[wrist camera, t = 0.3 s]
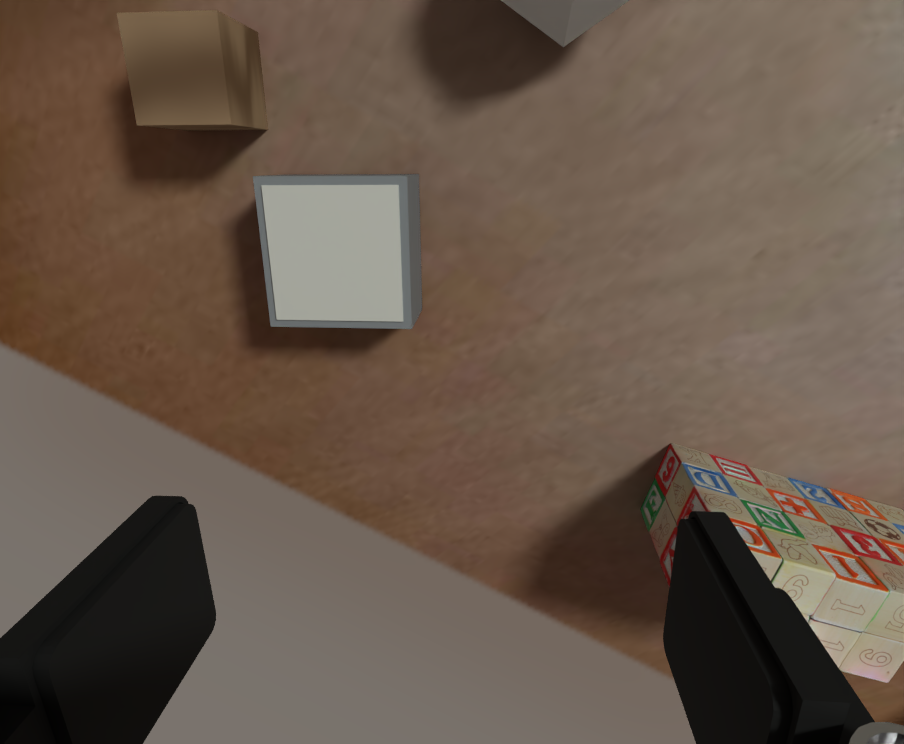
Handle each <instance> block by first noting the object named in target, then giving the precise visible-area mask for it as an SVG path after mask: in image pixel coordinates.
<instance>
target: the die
mask: <svg viewBox="0 0 904 744" xmlns="http://www.w3.org/2000/svg"><path fill="white" fill-rule="evenodd" d="M501 1H502V2H504V3H505V4H506V5H508V6H509V7H510V8H512V9H513V10H514V11H516V12H517V13H518V14H520V15H521V16H522V17H524V18H525V19H526V20H528V21H529V22H530V23H532V24H533V25H534V26H536V27H537V28H538V29H540V30H541V31H542V32H544V33H545V34H546V35H548V36H549V37H550V38H552V39H553V40H554V41H556V42H557V43H558V44H560V45H561V46H562V47H565V46H566V45H567V44H569V43H570V42H572V41H573V40H574V39H576V38H577V37H579V36H580V35H581V34H583V33H584V32H586V31H587V30H588V29H590V28H591V27H593V26H594V25H595V24H597V23H598V22H600V21H601V20H602V19H604V18H605V17H607V16H608V15H609V14H611V13H612V12H614V11H615V10H617V9H618V8H619V7H621V6H622V5H624V4H625V3H626V2H628V1H629V0H501Z"/></svg>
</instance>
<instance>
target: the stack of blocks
mask: <svg viewBox="0 0 904 744" xmlns="http://www.w3.org/2000/svg"><path fill="white" fill-rule="evenodd" d="M640 510H641V513H642V516H643V519H644V522H645V524H646V527H647V529H648V532H649V533H650V535H651V538H652V541H653V544H654V546H655V549H656V552H657V554H658V557H659V558H660V564H661V567H662V570H663V572H664V574H665V578H666V580H667V583H668V586H669V588H670V580H671V573H672V566H673V558H674V551H675V543H676V536H677V529H678V523H679V521H680V519H688V516H689V514H690V512H692V511H708V512H724V513H726V514H727V515H728V517H729V518H730V520H731V521H732V523H733V524H734V526H735V527H736V529H737V530H738V532H739V534H740V535H741V537H742V538H743V540H744V541H745V543H746V544H747V546H748V547H749V549H750V550H751V552H752V553H753V555H754V556H755V558H756V559H757V561H758V563H759V564H760V566H761V567H762V569H763V570H764V572H765V573H766V575H767V576H768V578H769V579H770V581H771V582H772V584H773V585H774V587H775V588H780V589H782V590H784V591H785V592H786V593H787V594H788V595H789V596H790V597H791V599H792V600H793V602H794V603H795V605H796V606H797V607H798V609H799V610H800V612H801V613H802V615H803V616H804V618H805V619H806V621H807V622H808V624H809V625H810V627H811V628H812V630H813V631H814V633H815V634H816V636H817V637H818V639H819V640H820V641H821V643H822V644H823V646H824V647H825V649H826V650H827V652H828V653H829V655H830V656H831V658H832V659H833V661H834V662H835V664H836V665H837V667H838V668H839V670H841V671H843V672H847V673H851V674H855V675H859V676H862V677H866V678H870V679H874V680H878V681H882V682H887V683H888V682H889V681H890V679H891V678H892V677H893V675H894V674H895V672H896V671H897V670H898V668H899V667H900V665H901V664H902V662H903V661H904V511H903V510H902V509H899V508H895V507H892V506H888V505H885V504H881V503H878V502H874V501H871V500H865V499H863V498H860V497H857V496H854V495H850V494H847V493H844V492H840V491H837V490H833V489H830V488H823V487H819V486H816V485H812V484H809V483H805V482H802V481H798V480H795V479H791V478H785V477H783V476H780V475H776V474H773V473H769V472H766V471H762V470H759V469H755V468H752V467H748V466H747V465H745V464H741V463H738V462H734V461H731V460H727V459H724V458H721V457H717V456H713V455H710V454H707V453H704V452H701V451H697V450H694V449H691V448H687V447H684V446H680V445H677V444H673V443H671V444H670V445H669V447H668V449H667V451H666V454H665V456H664V458H663V460H662V462H661V464H660V467H659V469H658V471H657V473H656V475H655V479H654V481H653V483H652V486H651V488H650V490H649V492H648V494H647V496H646V498H645V501H644V503H643V505H642V507H641V509H640Z"/></svg>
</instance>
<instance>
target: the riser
mask: <svg viewBox="0 0 904 744" xmlns="http://www.w3.org/2000/svg"><path fill="white" fill-rule="evenodd" d="M253 181H254V190H255V198H256V207H257V215H258V223H259V232H260V240H261V249H262V257H263V266H264V274H265V283H266V291H267V300H268V308H269V317H270V325H271V327H323V328H385V329H412V328H413V326H414V324H415V322H416V320H417V318H418V316H419V315H420V313H421V311H422V284H421V242H420V201H419V174H326V175H267V176H253Z"/></svg>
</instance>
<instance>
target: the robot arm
mask: <svg viewBox="0 0 904 744" xmlns="http://www.w3.org/2000/svg"><path fill="white" fill-rule="evenodd" d="M215 621H216V610H215V605H214V600H213V595H212V590H211V584H210V579H209V575H208V569H207V564H206V559H205V554H204V550H203V544H202V539H201V534H200V528H199V523H198V518H197V513H196V509H195V507H194V506H193V505H191V504H188V501H187V500H186V499H185V498H184V497H182V496H181V497H180V496H152V497H151V498H149V499H148V500H147V501H146V502H145V503H144V504H143V505H141V506H140V507H139V508H138V509H137V510H136V511H135V512H134V513H133V514H132V515H131V516H130V517H129V518H128V519H127V520H126V521H124V522H123V523H122V524H121V525H120V526H119V527H118V528H117V529H116V530H115V531H114V532H113V533H112V534H111V535H110V536H109V537H107V538H106V539H105V540H104V541H103V542H102V543H101V544H100V545H99V546H98V547H97V548H96V549H95V550H94V551H93V552H92V553H90V555H88V556H87V557H86V558H85V559H84V560H83V561H82V562H81V563H80V564H79V565H78V566H77V567H76V568H75V569H73V570H72V571H71V572H70V573H69V574H68V575H67V576H66V577H65V578H64V579H63V580H62V581H61V582H60V583H59V584H58V585H57V586H55V588H53V589H52V590H51V591H50V592H49V593H48V594H47V595H46V596H45V597H44V598H43V599H42V600H41V601H39V602H38V603H37V604H36V605H35V606H34V607H33V608H32V609H31V610H30V611H29V612H28V613H27V614H26V615H25V616H24V617H23V618H22V619H20V620H19V621H18V622H17V623H16V624H15V625H14V626H13V627H12V628H11V629H10V630H9V631H8V632H7V633H6V634H4V635H3V636H2V637H1V638H0V744H143V742H144V740H145V739H146V738H147V736H148V734H149V733H150V731H151V729H152V728H153V726H154V725H155V723H156V721H157V720H158V718H159V716H160V715H161V713H162V712H163V710H164V709H165V707H166V705H167V704H168V702H169V700H170V699H171V697H172V695H173V694H174V692H175V691H176V689H177V688H178V686H179V684H180V683H181V681H182V679H183V678H184V676H185V675H186V673H187V671H188V670H189V668H190V667H191V665H192V663H193V662H194V660H195V659H196V657H197V655H198V654H199V652H200V650H201V649H202V647H203V646H204V644H205V642H206V641H207V639H208V638H209V636H210V634H211V633H212V631H213V628H214V625H215ZM663 641H664V648H665V653H666V656H667V659H668V662H669V665H670V668H671V671H672V674H673V677H674V680H675V683H676V686H677V688H678V692H679V695H680V697H681V700H682V703H683V706H684V709H685V712H686V715H687V718H688V721H689V724H690V727H691V729H692V733H693V736H694V738H695V741H696V744H904V726H903V725H898V724H894V723H889V722H875V721H874V720H873V718H872V717H871V715H870V714H869V712H868V711H867V709H866V708H865V706H864V705H863V704H862V702H861V701H860V699H859V698H858V696H857V695H856V693H855V692H854V690H853V689H852V687H851V686H850V684H849V683H848V681H847V680H846V678H845V677H844V675H843V674H842V672H841V671H840V670H839V668H838V667H837V665H836V664H835V662H834V661H833V659H832V658H831V656H830V655H829V653H828V652H827V650H826V649H825V647H824V646H823V644H822V643H821V641H820V640H819V639H818V637H817V636H816V634H815V633H814V631H813V630H812V628H811V627H810V625H809V624H808V622H807V621H806V619H805V618H804V616H803V615H802V613H801V612H800V610H799V609H798V607H797V606H796V605H795V603H794V602H793V600H792V599H791V597H790V596H789V595H788V594H787V593H786V592H785V591H784V590H782V589H780V588H775V587H774V585H773V584H772V582H771V581H770V579H769V578H768V576H767V575H766V573H765V572H764V570H763V569H762V567H761V566H760V564H759V563H758V561H757V559H756V558H755V556H754V555H753V553H752V552H751V550H750V549H749V547H748V546H747V544H746V543H745V541H744V540H743V538H742V537H741V535H740V534H739V532H738V530H737V529H736V527H735V526H734V524H733V523H732V521H731V520H730V518H729V517H728V515H727V514H726V513H724V512H708V511H692V512H690V514H689V516H688V519H680V521H679V523H678V529H677V536H676V543H675V551H674V558H673V566H672V573H671V580H670V588H669V595H668V603H667V610H666V617H665V625H664V633H663Z"/></svg>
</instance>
